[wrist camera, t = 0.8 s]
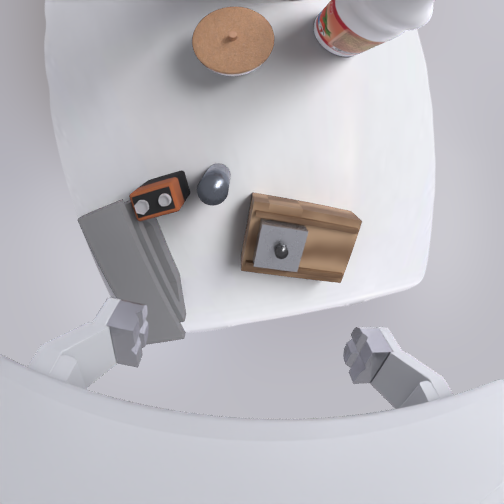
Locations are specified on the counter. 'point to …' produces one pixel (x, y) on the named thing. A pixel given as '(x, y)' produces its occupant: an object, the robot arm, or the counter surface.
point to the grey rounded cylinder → (214, 185)
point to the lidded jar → (233, 41)
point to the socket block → (318, 239)
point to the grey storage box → (138, 266)
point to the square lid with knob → (279, 245)
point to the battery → (160, 196)
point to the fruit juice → (367, 23)
